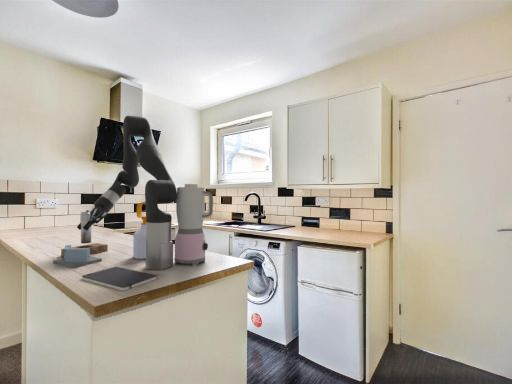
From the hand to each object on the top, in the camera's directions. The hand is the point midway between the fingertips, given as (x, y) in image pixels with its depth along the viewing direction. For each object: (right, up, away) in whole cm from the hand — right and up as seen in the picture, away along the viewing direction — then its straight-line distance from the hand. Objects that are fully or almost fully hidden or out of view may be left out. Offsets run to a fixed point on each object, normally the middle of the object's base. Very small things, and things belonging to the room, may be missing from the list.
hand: (81, 228), depth 120 cm
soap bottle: (+30, -12, -3) cm, 32 cm away
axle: (+1, -7, +2) cm, 7 cm away
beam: (0, -11, +2) cm, 12 cm away
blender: (+53, -12, -11) cm, 56 cm away
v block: (+6, -12, -13) cm, 19 cm away
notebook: (+34, -13, -32) cm, 48 cm away
